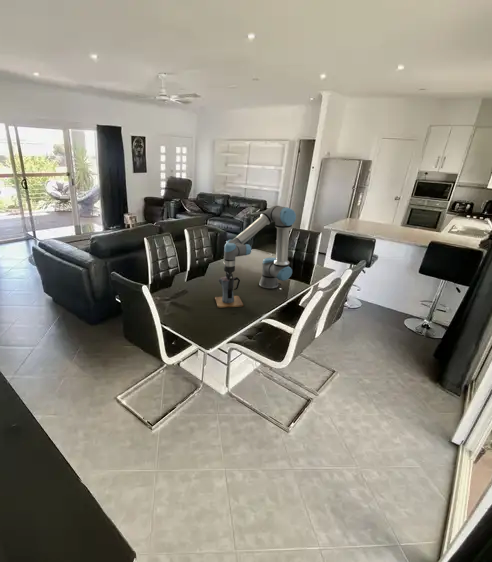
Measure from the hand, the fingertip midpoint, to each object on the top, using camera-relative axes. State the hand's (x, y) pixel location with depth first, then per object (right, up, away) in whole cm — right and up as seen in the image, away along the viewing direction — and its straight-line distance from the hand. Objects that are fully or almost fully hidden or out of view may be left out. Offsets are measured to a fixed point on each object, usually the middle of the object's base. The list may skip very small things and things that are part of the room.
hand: (228, 295), depth 230 cm
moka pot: (0, -4, +2) cm, 4 cm away
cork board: (0, -5, +2) cm, 5 cm away
